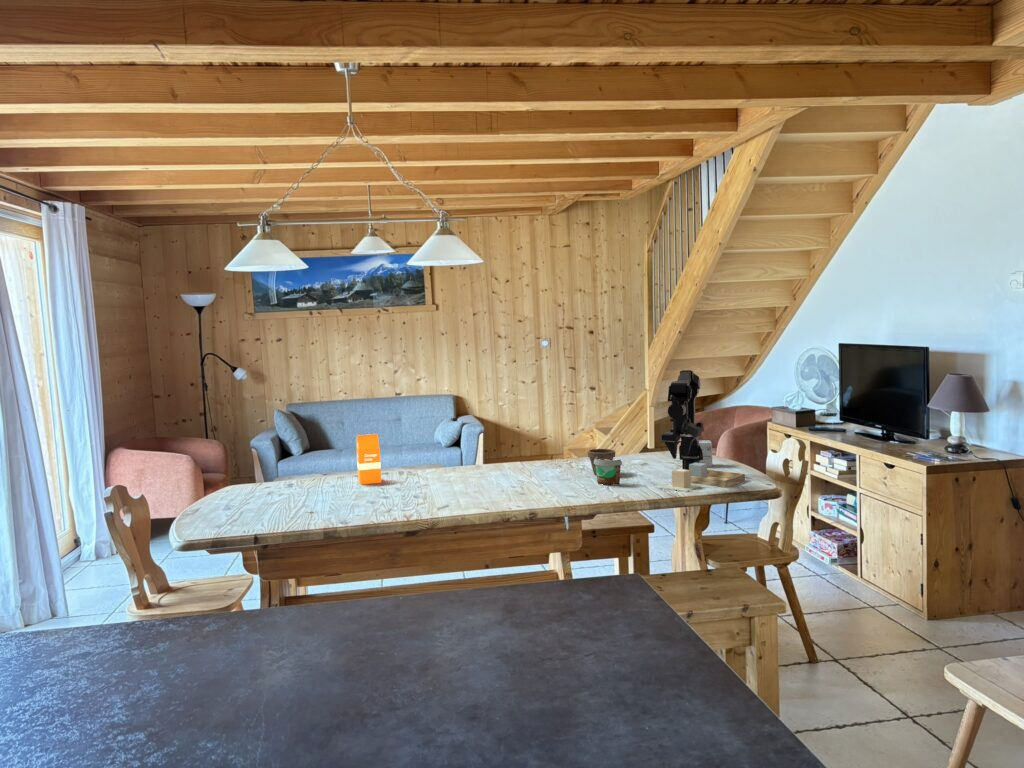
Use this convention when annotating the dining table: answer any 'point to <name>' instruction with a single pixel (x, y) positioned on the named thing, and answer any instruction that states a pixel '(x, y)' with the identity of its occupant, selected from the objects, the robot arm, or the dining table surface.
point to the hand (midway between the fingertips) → (680, 456)
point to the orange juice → (368, 459)
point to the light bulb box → (706, 452)
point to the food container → (607, 471)
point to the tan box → (681, 478)
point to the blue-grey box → (698, 470)
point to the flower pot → (600, 456)
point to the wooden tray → (719, 478)
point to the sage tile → (681, 488)
